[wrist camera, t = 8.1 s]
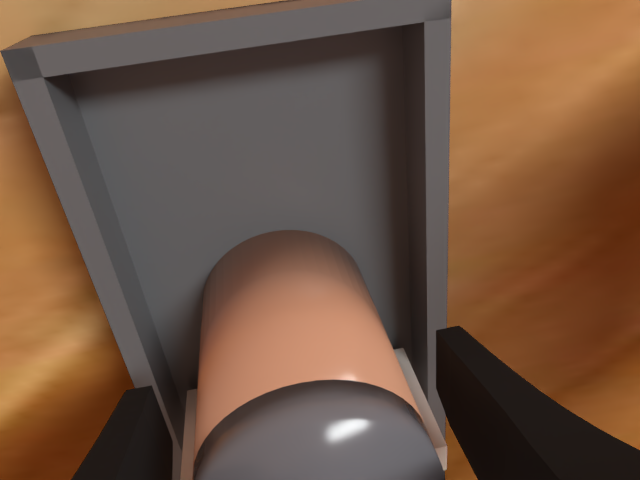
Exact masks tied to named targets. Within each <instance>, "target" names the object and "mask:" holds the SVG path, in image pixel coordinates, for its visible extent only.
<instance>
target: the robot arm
mask: <svg viewBox="0 0 640 480" xmlns="http://www.w3.org/2000/svg"><path fill="white" fill-rule="evenodd" d="M436 389H437V392H438V395H439V398H440V400H441V403H442V406H443V409H444V411H445V414H446V416H447V419H448V422H449V424H450V426H451V428H452V430H453V432H454V434H455V436H456V438H457V440H458V442H459V444H460V446H461V448H462V450H463V452H464V454H465V455H466V457H467V459H468V461H469V463H470V465H471V467H472V469H473V471H474V473H475V475H476V477H477V479H478V480H640V450H638V449H636V448H634V447H632V446H630V445H628V444H626V443H624V442H622V441H620V440H619V439H617V438H615V437H613V436H611V435H609V434H607V433H606V432H604V431H602V430H600V429H598V428H597V427H595V426H593V425H592V424H590V423H588V422H587V421H585V420H583V419H582V418H580V417H578V416H577V415H575V414H573V413H572V412H570V411H569V410H567V409H566V408H564V407H563V406H561V405H560V404H558V403H557V402H555V401H554V400H552V399H551V398H550V397H548V396H547V395H545V394H544V393H542V392H541V391H540V390H538V389H537V388H535V387H534V386H533V385H531V384H530V383H529V382H527V381H526V380H525V379H523V378H522V377H521V376H520V375H518V374H517V373H516V372H514V371H513V370H512V369H511V368H509V367H508V366H507V365H506V364H504V363H503V362H502V361H501V360H499V359H498V358H497V357H496V356H495V355H493V354H492V353H491V352H490V351H489V350H487V349H486V348H485V347H484V346H483V345H481V344H480V343H479V342H478V341H477V340H476V339H474V338H473V337H472V336H471V335H470V334H469V333H467V332H466V331H465V330H464V329H463V328H461V327H460V326H455V327H450V328H445V329H440V330H436ZM172 470H173V440H172V438H171V435H170V432H169V430H168V427H167V425H166V422H165V419H164V417H163V414H162V411H161V409H160V406H159V403H158V401H157V398H156V395H155V393H154V390H153V387H152V385H151V386H146V387H141V388H135V389H130V390H126V392H125V393H124V394H123V396H122V398H121V399H120V401H119V403H118V404H117V406H116V408H115V410H114V411H113V413H112V415H111V417H110V418H109V420H108V422H107V423H106V425H105V427H104V428H103V430H102V432H101V433H100V435H99V437H98V438H97V440H96V442H95V443H94V445H93V446H92V448H91V450H90V451H89V453H88V454H87V456H86V458H85V459H84V461H83V462H82V464H81V465H80V467H79V469H78V470H77V472H76V473H75V475H74V476H73V477H72V479H71V480H172Z"/></svg>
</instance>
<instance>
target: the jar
mask: <svg viewBox="0 0 640 480" xmlns="http://www.w3.org/2000/svg"><path fill="white" fill-rule="evenodd" d="M192 480H445V474H444V471H443V467H442V464H441V462H440V460H439V457H438V455H437V453H436V450H435V448H434V445H433V443H432V441H431V438H430V436H429V433H428V431H427V429H426V426H425V424H424V421H423V419H422V417H421V414H420V412H419V410H418V407H417V405H416V402H415V400H414V398H413V395H412V393H411V390H410V388H409V386H408V383H407V381H406V379H405V376H404V374H403V371H402V369H401V367H400V364H399V362H398V359H397V357H396V355H395V352H394V350H393V347H392V345H391V343H390V340H389V338H388V336H387V333H386V331H385V328H384V326H383V324H382V321H381V319H380V316H379V314H378V312H377V309H376V307H375V305H374V302H373V300H372V297H371V295H370V293H369V290H368V288H367V285H366V283H365V281H364V278H363V276H362V273H361V271H360V269H359V267H358V265H357V263H356V262H355V260H354V259H353V258H352V256H351V255H350V254H349V253H348V252H347V251H346V250H345V249H344V248H343V247H341V246H340V245H339V244H337V243H336V242H334V241H332V240H331V239H329V238H327V237H324V236H321V235H319V234H316V233H312V232H308V231H300V230H280V231H272V232H268V233H263V234H260V235H257V236H254V237H252V238H249V239H247V240H245V241H243V242H241V243H240V244H238V245H237V246H235V247H234V248H232V249H231V250H230V251H228V252H227V253H226V254H225V255H224V256H223V257H222V258H221V259H220V260H219V261H218V262H217V263H216V265H215V266H214V268H213V269H212V271H211V272H210V274H209V277H208V279H207V281H206V284H205V287H204V291H203V299H202V316H201V334H200V352H199V370H198V388H197V406H196V423H195V441H194V459H193V477H192Z"/></svg>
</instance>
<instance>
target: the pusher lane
mask: <svg viewBox="0 0 640 480" xmlns="http://www.w3.org/2000/svg"><path fill="white" fill-rule="evenodd" d="M0 52H1V54H2V57H3V59H4V62H5V64H6V67H7V69H8V72H9V74H10V77H11V79H12V82H13V84H14V87H15V89H16V92H17V94H18V97H19V99H20V102H21V104H22V107H23V109H24V112H25V114H26V117H27V119H28V122H29V124H30V127H31V129H32V132H33V134H34V137H35V139H36V142H37V144H38V147H39V149H40V152H41V154H42V157H43V159H44V162H45V164H46V167H47V169H48V172H49V174H50V177H51V179H52V182H53V184H54V187H55V189H56V192H57V194H58V197H59V199H60V202H61V204H62V207H63V209H64V212H65V214H66V217H67V219H68V222H69V224H70V227H71V229H72V232H73V234H74V237H75V239H76V242H77V244H78V247H79V249H80V252H81V254H82V257H83V259H84V262H85V264H86V267H87V269H88V272H89V274H90V277H91V279H92V282H93V284H94V287H95V289H96V292H97V294H98V297H99V299H100V302H101V304H102V307H103V309H104V312H105V314H106V317H107V319H108V322H109V324H110V327H111V329H112V332H113V334H114V337H115V339H116V342H117V344H118V347H119V349H120V352H121V354H122V357H123V359H124V362H125V364H126V367H127V369H128V372H129V374H130V377H131V379H132V382H133V384H134V387H135V388H141V387H146V386H151V385H152V387H153V390H154V393H155V395H156V398H157V401H158V403H159V406H160V409H161V411H162V414H163V417H164V419H165V422H166V425H167V427H168V430H169V432H170V435H171V438H172V440H173V470H172V480H180V476H181V463H182V451H183V438H184V425H185V412H186V400H187V390H193V389H197V388H198V370H199V352H200V334H201V316H202V299H203V291H204V287H205V284H206V281H207V279H208V277H209V274H210V272H211V271H212V269H213V268H214V266H215V265H216V263H217V262H218V261H219V260H220V259H221V258H222V257H223V256H224V255H225V254H226V253H227V252H228V251H230V250H231V249H232V248H234V247H235V246H237V245H238V244H240V243H241V242H243V241H245V240H247V239H249V238H252V237H254V236H257V235H260V234H263V233H268V232H272V231H280V230H300V231H308V232H312V233H316V234H319V235H321V236H324V237H327V238H329V239H331V240H332V241H334V242H336V243H337V244H339V245H340V246H341V247H343V248H344V249H345V250H346V251H347V252H348V253H349V254H350V255H351V256H352V258H353V259H354V260H355V262H356V263H357V265H358V267H359V269H360V271H361V273H362V276H363V278H364V281H365V283H366V285H367V288H368V290H369V293H370V295H371V297H372V300H373V302H374V305H375V307H376V309H377V312H378V314H379V316H380V319H381V321H382V324H383V326H384V328H385V331H386V333H387V336H388V338H389V340H390V343H391V345H392V347H393V350H394V349H399V348H404V351H405V353H406V355H407V357H408V360H409V362H410V364H411V366H412V369H413V371H414V373H415V375H416V377H417V380H418V382H419V384H420V386H421V389H422V391H423V393H424V395H425V398H426V400H427V402H428V404H429V406H430V409H431V411H432V413H433V415H434V418H435V420H436V422H437V424H438V427H439V429H440V431H441V433H442V435H443V438H444V440H445V416H446V414H445V411H444V409H443V406H442V403H441V400H440V398H439V395H438V392H437V389H436V330H440V329H445V328H447V274H448V203H449V132H450V61H451V0H286V1H279V2H271V3H264V4H257V5H250V6H243V7H235V8H228V9H221V10H214V11H207V12H199V13H192V14H185V15H178V16H170V17H163V18H156V19H149V20H142V21H134V22H127V23H120V24H113V25H106V26H98V27H91V28H84V29H77V30H70V31H62V32H55V33H48V34H41V35H33V36H30V37H28V38H26V39H24V40H22V41H20V42H18V43H16V44H14V45H12V46H10V47H8V48H5V49H3V50H1V51H0ZM443 471H444V474H445V470H443Z"/></svg>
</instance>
